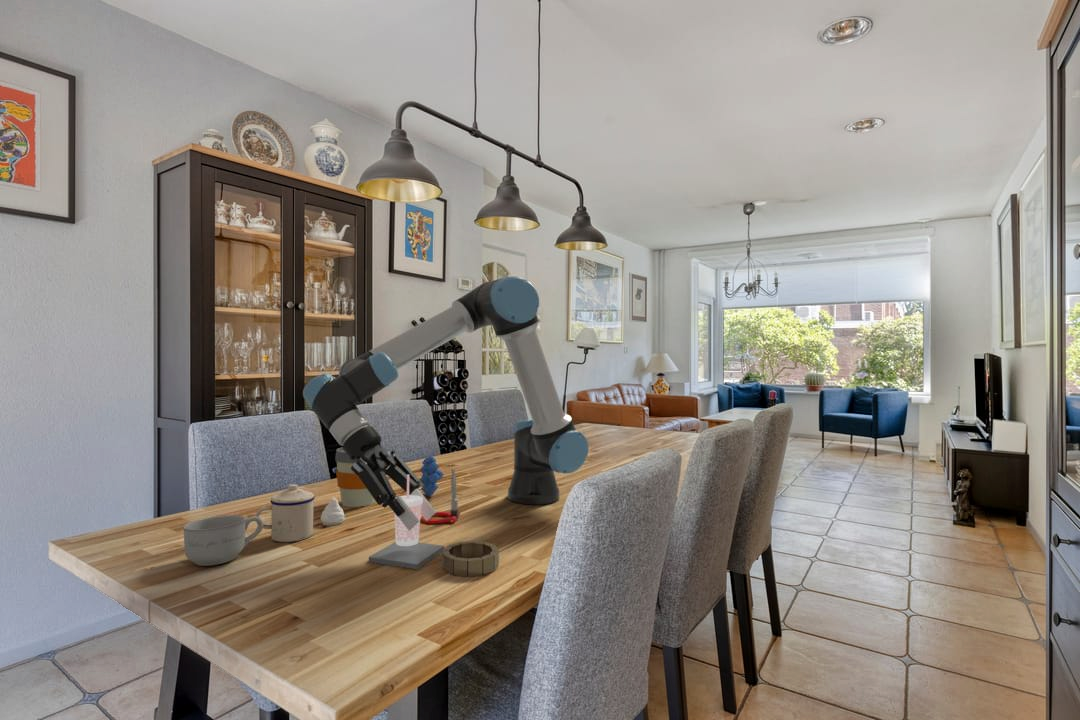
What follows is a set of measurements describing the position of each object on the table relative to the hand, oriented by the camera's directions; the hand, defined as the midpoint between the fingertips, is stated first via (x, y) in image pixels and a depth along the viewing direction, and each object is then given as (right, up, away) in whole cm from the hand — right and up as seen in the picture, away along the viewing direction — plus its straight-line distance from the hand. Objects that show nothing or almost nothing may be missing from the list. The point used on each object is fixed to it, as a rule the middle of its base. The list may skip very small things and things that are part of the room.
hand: (423, 520), depth 112 cm
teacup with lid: (-33, -7, +12) cm, 36 cm away
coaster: (-3, -8, +1) cm, 8 cm away
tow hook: (-1, -8, +27) cm, 28 cm away
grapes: (-8, -7, +49) cm, 50 cm away
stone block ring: (+10, -8, -3) cm, 13 cm away
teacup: (-39, -7, -2) cm, 40 cm away
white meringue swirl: (-27, -7, +23) cm, 36 cm away
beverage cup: (-4, -5, +1) cm, 6 cm away
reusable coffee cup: (-27, -7, +41) cm, 49 cm away
